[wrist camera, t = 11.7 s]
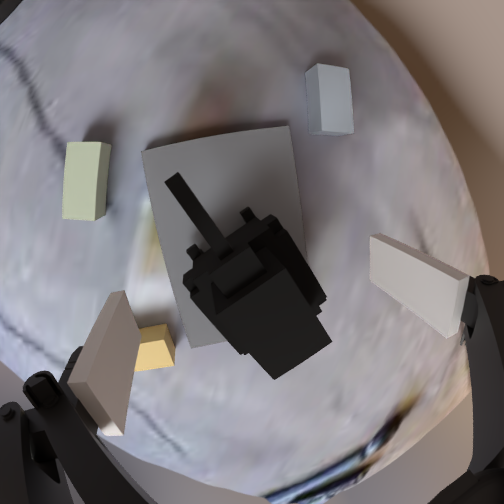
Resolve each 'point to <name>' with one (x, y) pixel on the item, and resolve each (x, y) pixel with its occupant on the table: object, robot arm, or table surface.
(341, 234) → the table surface
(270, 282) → the toy
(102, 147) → the sage brick
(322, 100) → the dusty blue brick
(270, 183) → the felt pad
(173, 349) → the mustard brick
